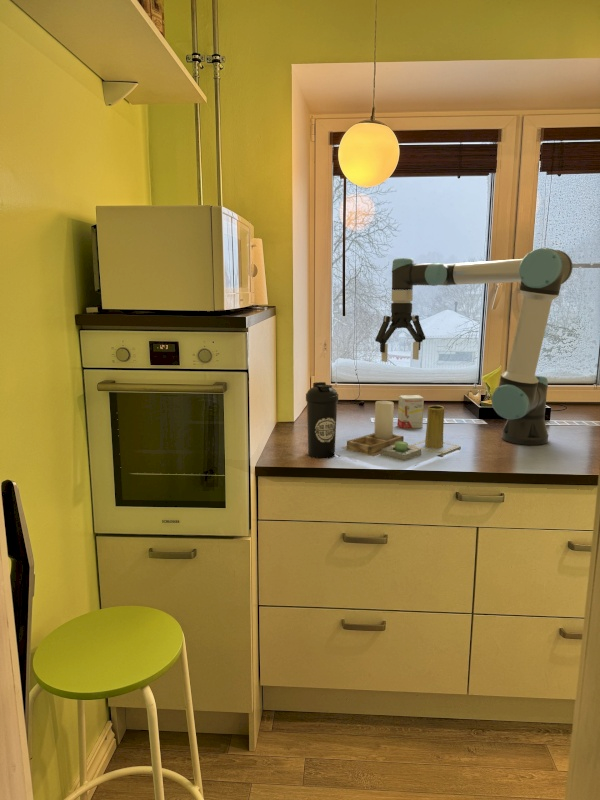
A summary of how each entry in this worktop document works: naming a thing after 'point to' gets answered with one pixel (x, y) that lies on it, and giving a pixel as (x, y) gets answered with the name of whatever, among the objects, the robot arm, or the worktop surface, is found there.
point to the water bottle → (321, 420)
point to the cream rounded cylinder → (384, 420)
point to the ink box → (410, 411)
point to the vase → (435, 427)
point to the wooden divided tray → (371, 444)
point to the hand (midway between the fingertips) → (400, 360)
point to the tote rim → (441, 451)
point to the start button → (401, 446)
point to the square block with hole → (400, 452)
